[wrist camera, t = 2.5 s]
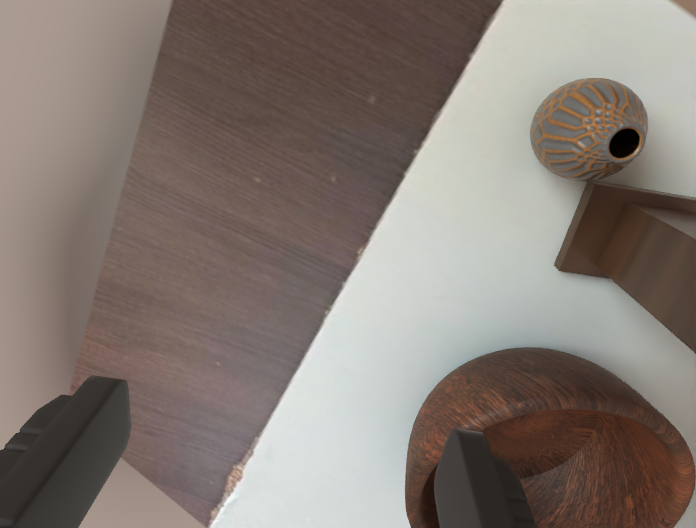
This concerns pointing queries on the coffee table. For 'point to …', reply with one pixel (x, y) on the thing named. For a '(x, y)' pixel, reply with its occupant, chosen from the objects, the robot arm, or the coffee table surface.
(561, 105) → the vase
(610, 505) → the wooden bowl
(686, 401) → the coffee table surface
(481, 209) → the coffee table surface
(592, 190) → the stand
